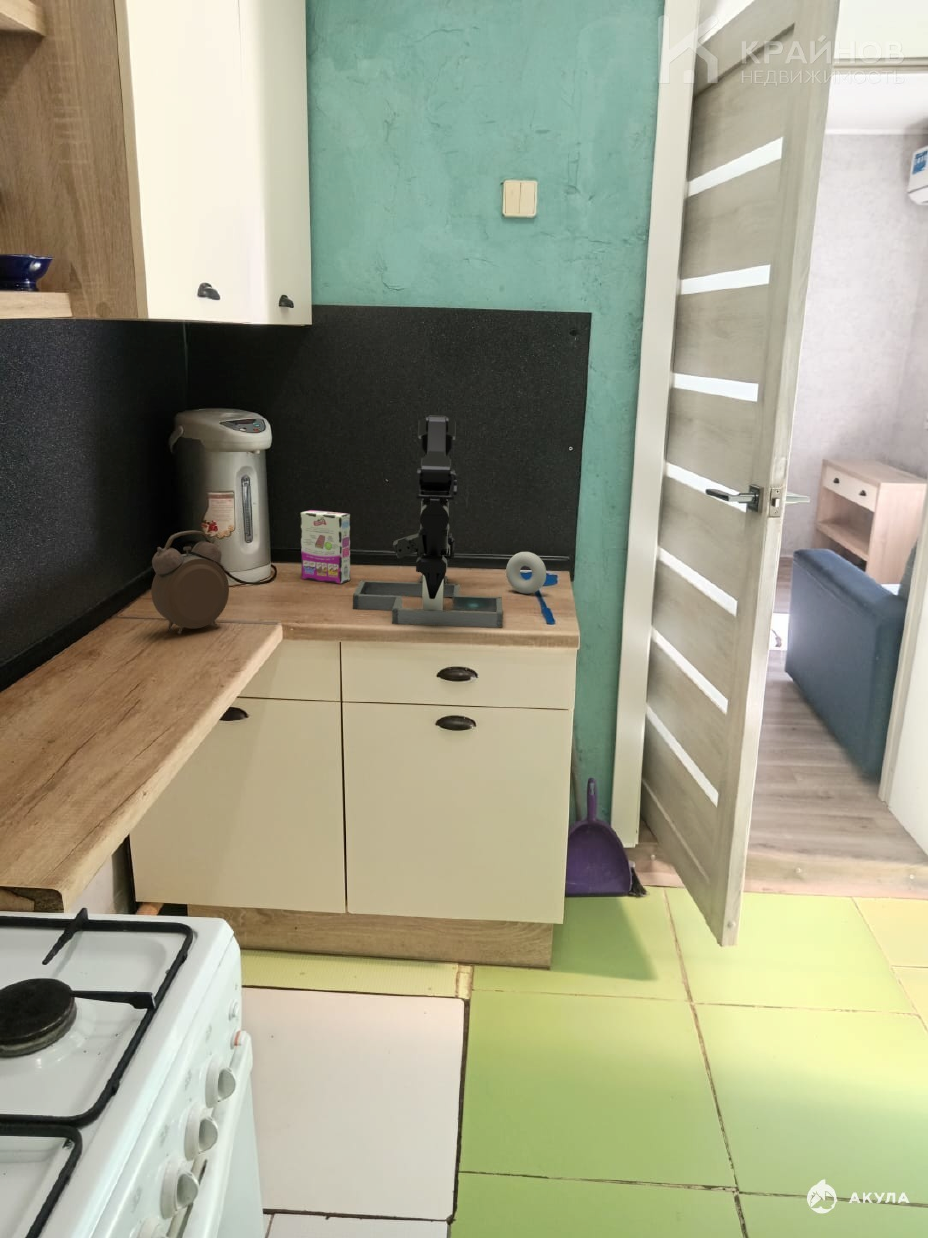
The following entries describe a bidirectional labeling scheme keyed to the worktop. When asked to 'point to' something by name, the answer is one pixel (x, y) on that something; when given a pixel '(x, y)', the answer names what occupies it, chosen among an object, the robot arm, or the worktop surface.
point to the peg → (432, 603)
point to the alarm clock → (189, 583)
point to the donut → (536, 568)
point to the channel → (391, 596)
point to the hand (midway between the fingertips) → (432, 595)
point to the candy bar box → (325, 546)
